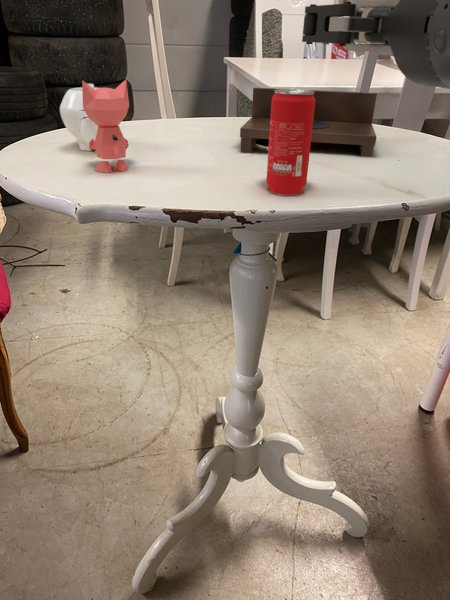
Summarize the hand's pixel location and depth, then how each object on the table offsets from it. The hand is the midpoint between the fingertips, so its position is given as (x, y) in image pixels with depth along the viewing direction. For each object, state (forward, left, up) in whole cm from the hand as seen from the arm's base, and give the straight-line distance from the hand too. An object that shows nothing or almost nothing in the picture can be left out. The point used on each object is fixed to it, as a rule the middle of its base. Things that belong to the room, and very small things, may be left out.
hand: (351, 27), depth 43 cm
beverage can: (-4, -11, -19) cm, 22 cm away
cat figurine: (+11, -32, -19) cm, 38 cm away
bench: (-24, -28, -18) cm, 41 cm away
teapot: (+8, -47, -19) cm, 51 cm away
